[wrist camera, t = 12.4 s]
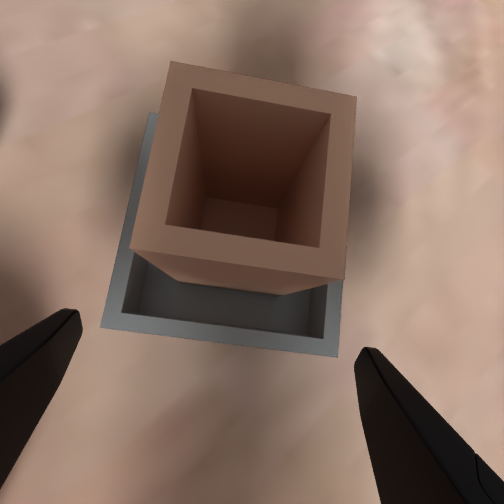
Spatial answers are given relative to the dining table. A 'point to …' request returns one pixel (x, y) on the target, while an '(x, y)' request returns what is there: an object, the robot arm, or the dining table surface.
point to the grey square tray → (213, 299)
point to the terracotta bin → (247, 183)
